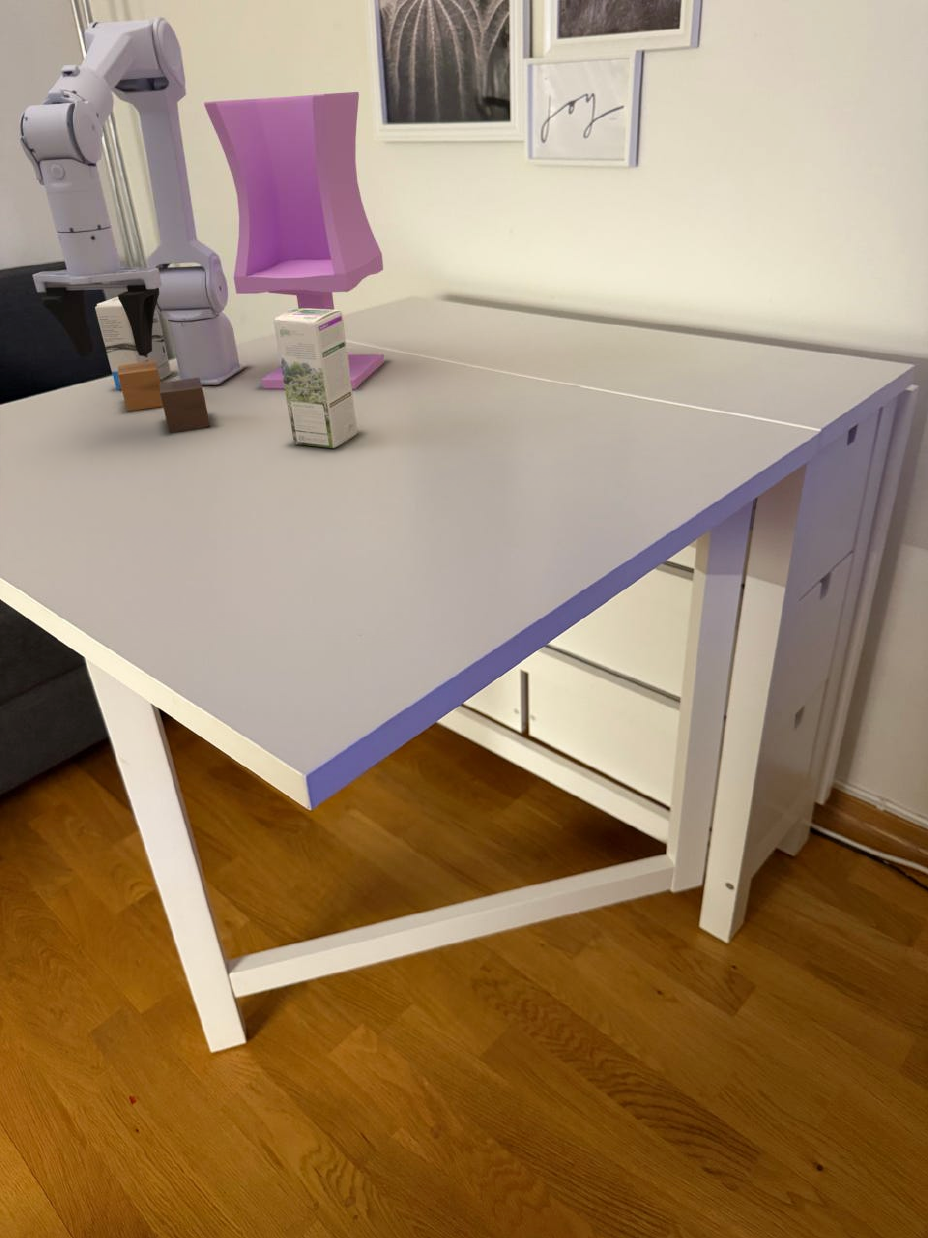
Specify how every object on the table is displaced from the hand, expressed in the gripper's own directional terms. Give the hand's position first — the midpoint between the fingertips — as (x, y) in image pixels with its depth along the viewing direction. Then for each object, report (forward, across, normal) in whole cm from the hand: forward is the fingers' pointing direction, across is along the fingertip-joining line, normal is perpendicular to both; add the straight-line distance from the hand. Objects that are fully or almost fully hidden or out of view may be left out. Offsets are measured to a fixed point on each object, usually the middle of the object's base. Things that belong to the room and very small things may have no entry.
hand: (115, 353), depth 106 cm
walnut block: (+10, +5, +5) cm, 12 cm away
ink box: (+10, -11, +24) cm, 28 cm away
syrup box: (+10, +25, -1) cm, 27 cm away
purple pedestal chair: (+10, +16, +26) cm, 33 cm away
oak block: (+10, -5, +13) cm, 17 cm away
